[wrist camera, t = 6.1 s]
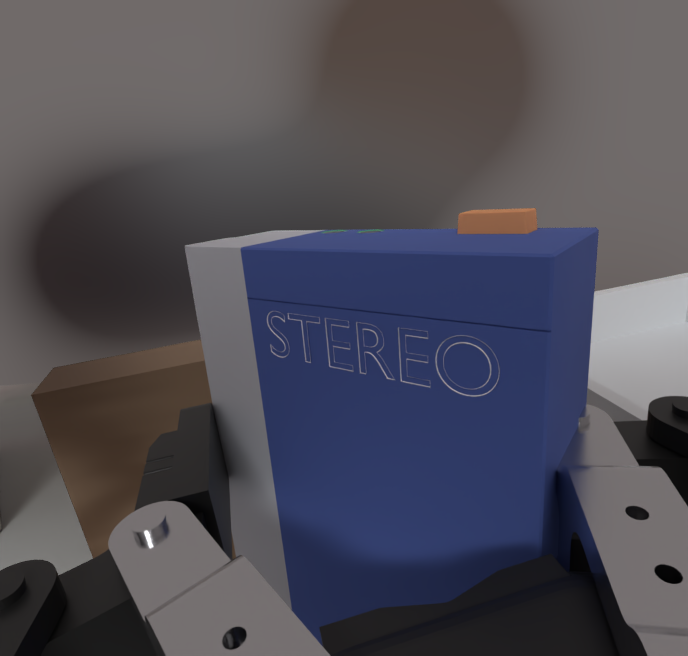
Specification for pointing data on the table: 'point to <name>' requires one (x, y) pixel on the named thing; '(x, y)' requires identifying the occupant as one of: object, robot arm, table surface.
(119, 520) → the walnut screen
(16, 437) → the table surface
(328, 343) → the walkman
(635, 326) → the grey tray
